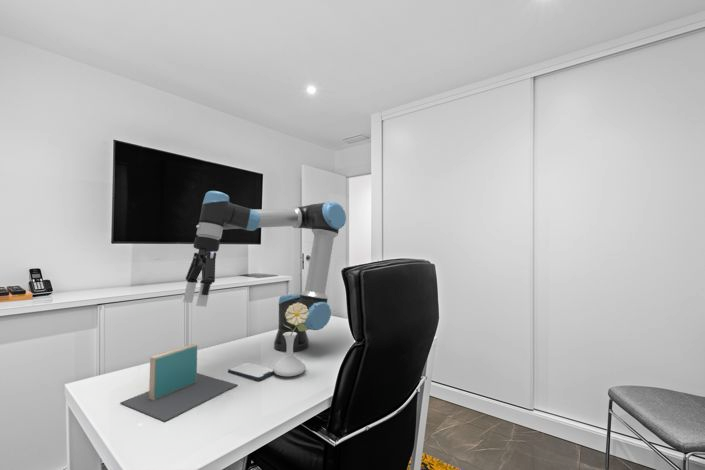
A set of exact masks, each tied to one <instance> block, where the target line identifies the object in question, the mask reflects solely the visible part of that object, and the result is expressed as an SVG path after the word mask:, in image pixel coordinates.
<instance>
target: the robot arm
mask: <svg viewBox="0 0 705 470" xmlns="http://www.w3.org/2000/svg"><path fill="white" fill-rule="evenodd" d="M346 221H347V215H346V212H345V210H344V207H343V205H341V204H340V203H338V202H336V201H327V202H326V201H325V202H321V203H313V204H309V205H302V206H294V207H292V208H289V209H288V208H284V209H283V208H282V209H281V208H279V209H278V208H277V209H276V208H274V209H272V208H270V209H269V208H268V209H266V208H265V209H264V208H263V209H258V208H257V209H254V208H253V209H252V208H249V207H244V206H241V205H238V204H235V203H232V202H230V196H229V195H228V194H226V193H224V192H221V191H217V190H210V191H207V192H206V193H205V195H204V198H203V202H202V206H201V212H200V216H199V221H198V224H197V225H196V226H195V227H196V229H197V230H196V234H195V235H197V236H195V238H194V243H193V249H196V250H198V252H194V253H193V258H192V261H191V263H190V266H189V268H188V271H187V274H186V276H185V280H186V282H187V283H186V285H185V290H184V294H183V300H182V303H191V304H192V303H193V301H194V297H195V296H194V295H195V293H196V291H195V290H196V287H197V284H198V279H199V275H200V274H201V280H200V281H199V284H200V286H199V289H198V294H197V295H198V296H197V298H196V299H197V300H196V304H195V306H196V307H207V305H208V299H209V295H210V290H211V285H212V284H213V283H215V281H216V276H215V275H216V259H217V258H216V257H217V252H219V248H220V244H221V241H220V240H221V239H222V236H223V230H235V229H236V230H238V229H241V230H245V231H252V232H253V231H256V230H257V229H259V228H279V227H281V228H282V227H292V228H294V229H306V230H309V229H310V230H311V232H312V233H313V235H314V236H313V241H312V247H311V253H310V258H309V264H308V269H307V275H306V280H305V281H306V282H305V287H304V290H303V291H302V292H301V293H294V294H293V293H291V294H284V295H281V296H279V298H278V330H277V333H276V336H275V337H274V341H273V348H274V350H276V351H280V352H285V353H286V351H287V345H286V339H285V337H284V336H283V333H286V332H292V331H293V330H294V328H295V327H296V325H293V324H290V323H288V322H287V320H288V319H286V316H285V313H286V311H287V309H288V308H289V306H291V305H293V304H297V303H300V304H303V305H305V306H307V309H308V311H307V312H309V315H308V317H307V318H306V321H305V322H303V323H301V324H304V325H305V326H306V327H307V329H308V330H306V331H299V330H298V329H297V327H296V329H295V330H294V331H293V332H296V333H297V335H296V337H295V339H294V343H293V352H300V351H302V350H306V349H308V348H309V344H310V343H309V342H310V341H309V337H308V334H307V331H310V330H311V331H320V330H322V329H324V327H325V326H327V324H328V323H329V322H330V320H331V316H332V309H331V307H330V304H328V299H329V298H328V296H327V295H326V289H327V282H328V277H329V271H330V264H331V258H332V252H333V246H334V239H335V238H337V236H338V235H339V231H340V229H342V228H343V227H344V226H345V224H346ZM284 325H285V326H284ZM299 325H300V324H299ZM286 326H288V327H290V328H291V329H290V328H288V327H286ZM297 326H298V325H297ZM305 348H306V349H305Z"/></svg>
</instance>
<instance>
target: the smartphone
mask: <svg viewBox="0 0 705 470" xmlns="http://www.w3.org/2000/svg"><path fill="white" fill-rule="evenodd" d="M227 373H228V374H231V375H234V376H237V377H241V378H244V379H248V380H252V381H254V382H262V381H265V380H267V379H268V378H270V377H272V376H274V375H276V374H275V373H274V371H273V368H271V367H267V366H262V365H258V364H256V363H255V364H254V363H251V362H242V363H240V364H238V365H235V366H232V367H230V368H228V369H227Z"/></svg>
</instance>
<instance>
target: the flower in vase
mask: <svg viewBox="0 0 705 470" xmlns="http://www.w3.org/2000/svg"><path fill="white" fill-rule="evenodd" d="M307 311H308V309H307V306H305V305H303V304H300V303H297V304H293V305H291V306H289V308H288V309H287V311H286V313H285V316H286V319H288V320H287V322H288V323H290V324H293V325H296V327H297V329H298V330H299V331H306V332H307V331H309V330H308V329H307V327H306V326H305V325H304V324H301V323H303V322H305V321H306V318H307V317H308V315H309V312H307ZM299 324H300V325H299ZM297 325H298V326H297ZM284 326H285V325H284ZM286 327H288V326H286ZM296 327H295V328H294V330H295V329H296ZM288 328H290V327H288ZM290 329H291V328H290ZM294 330H293V331H294ZM293 331H292V332H286V333H283V336H284V337H285V339H286V345H287V351H286V352H285V355H284V356H283V357H282V358H281V359H279V360H278V361H277V362H276V363H275V364H274V366H273V368H272V369H273V371H274V373H275V374H274V375H277V376H281V377H295V376H298V375H300V374H302V373H304V372H305V370H306V368H307V367H306V364H305V363H304V362H303V361H302V360H301V359H300V358H298V357H297V356H295V354H294V351H293V343H294V339H295V337H296V335H297V333H296V332H293Z"/></svg>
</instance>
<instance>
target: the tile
mask: <svg viewBox="0 0 705 470" xmlns="http://www.w3.org/2000/svg"><path fill="white" fill-rule="evenodd" d="M197 371H198V344H195V343H191V344H189V345H185V346H182V347H179V348H175V349H172V350H169V351H166V352H163V353H159V354H156V355H153V356H150V358H149V386H148V391H149V399H151V400H156V399H158V398H160V397H163V396H165V395H167V394H170V393H172V392H174V391H177V390H179V389H181V388H184V387H186V386H189V385H191V384H193V383H196V380H197V373H198V372H197Z"/></svg>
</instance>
